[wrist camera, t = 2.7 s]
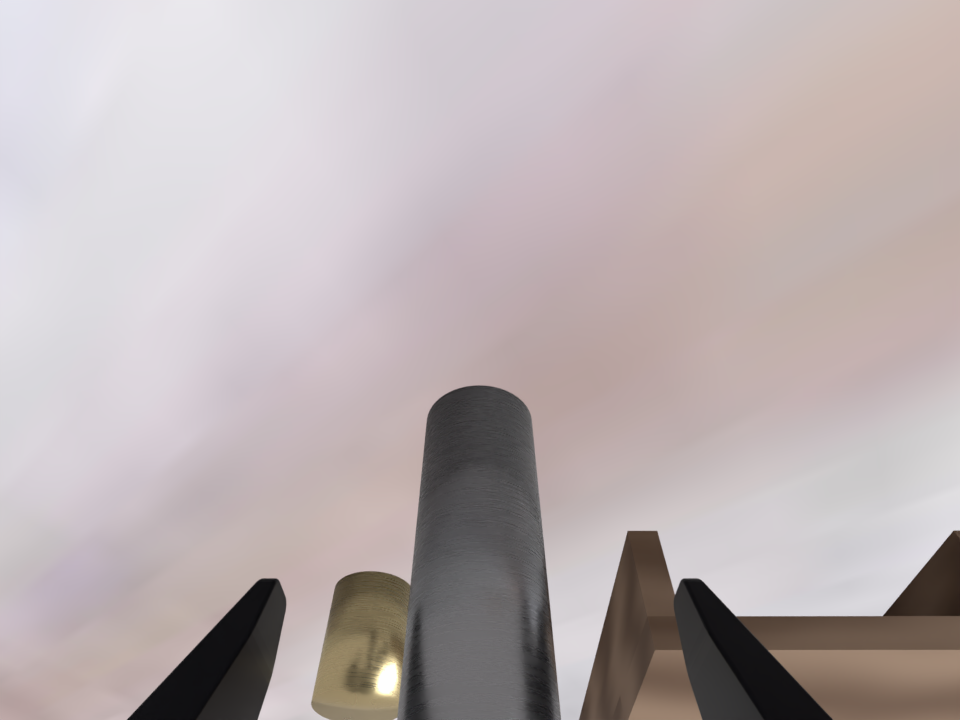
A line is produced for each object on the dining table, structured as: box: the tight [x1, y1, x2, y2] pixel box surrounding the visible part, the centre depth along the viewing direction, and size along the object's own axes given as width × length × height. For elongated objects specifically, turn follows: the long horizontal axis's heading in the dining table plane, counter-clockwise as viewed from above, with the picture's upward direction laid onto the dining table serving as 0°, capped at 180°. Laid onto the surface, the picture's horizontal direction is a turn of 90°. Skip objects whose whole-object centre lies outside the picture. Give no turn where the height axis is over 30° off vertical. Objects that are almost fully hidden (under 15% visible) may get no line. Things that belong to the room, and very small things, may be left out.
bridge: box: [579, 530, 960, 720], centre depth 23 cm, size 16×12×4 cm
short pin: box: [311, 571, 410, 720], centre depth 21 cm, size 3×3×4 cm
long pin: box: [397, 385, 561, 720], centre depth 13 cm, size 3×3×10 cm
